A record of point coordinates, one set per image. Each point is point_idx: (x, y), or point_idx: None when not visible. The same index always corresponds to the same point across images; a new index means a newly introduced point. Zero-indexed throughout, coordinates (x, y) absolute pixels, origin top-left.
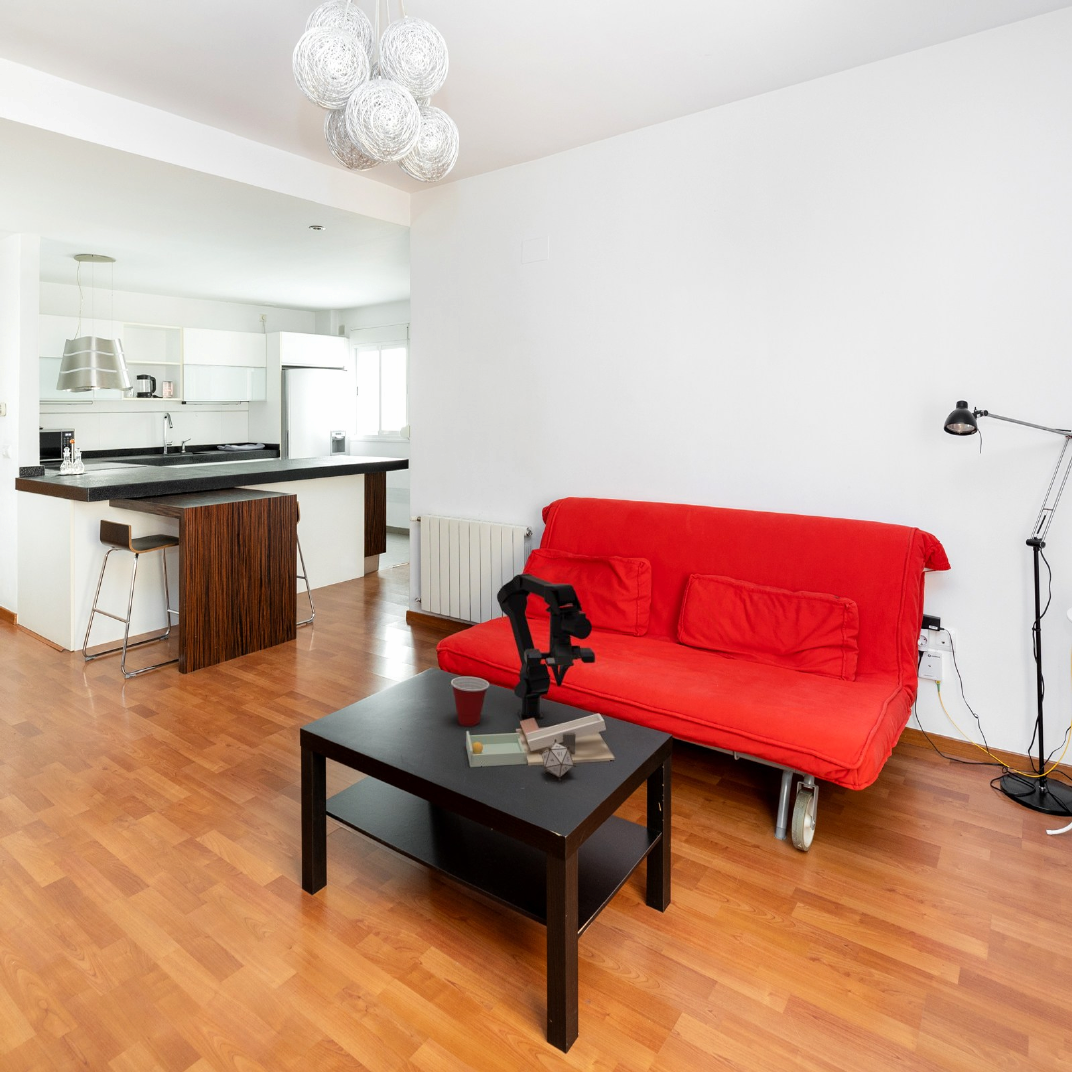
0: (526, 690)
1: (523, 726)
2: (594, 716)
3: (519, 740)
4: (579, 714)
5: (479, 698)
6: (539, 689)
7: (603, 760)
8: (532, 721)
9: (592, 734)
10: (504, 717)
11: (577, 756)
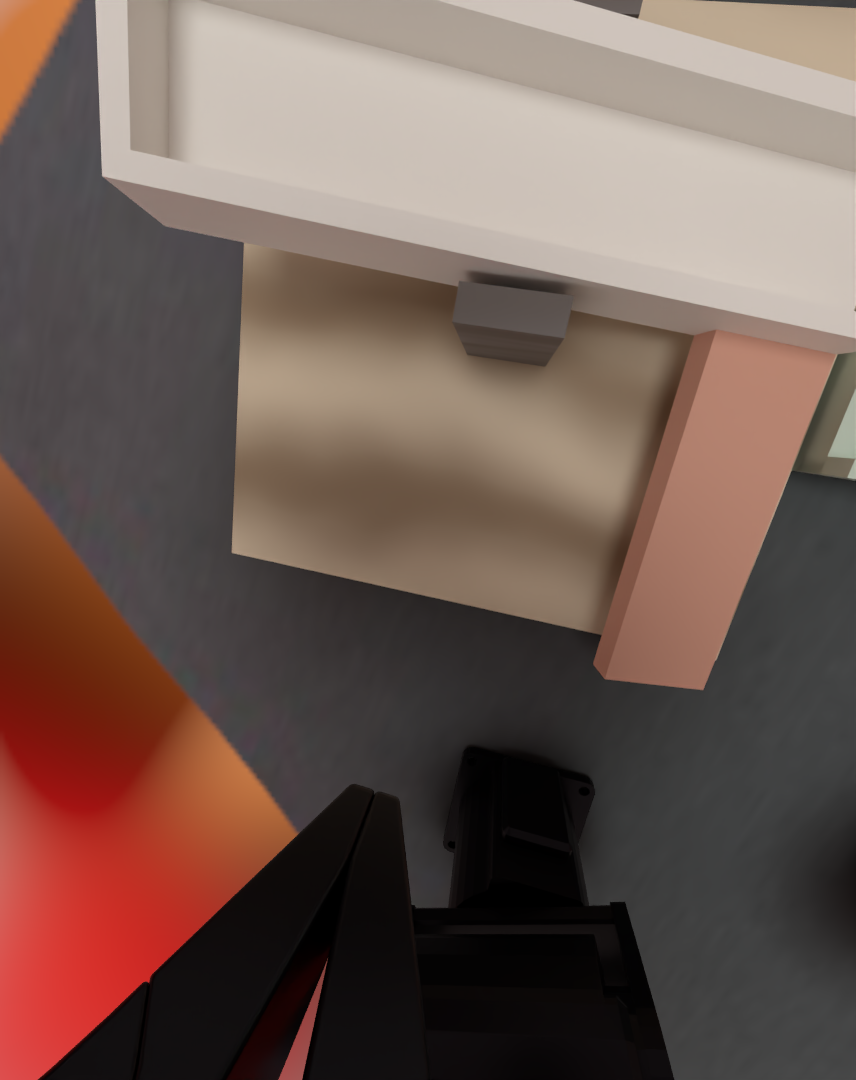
0: (641, 986)
1: (728, 598)
2: (179, 166)
3: (853, 415)
4: (260, 726)
5: None
6: (500, 953)
7: None
8: (642, 628)
9: (278, 423)
10: (671, 844)
11: None
